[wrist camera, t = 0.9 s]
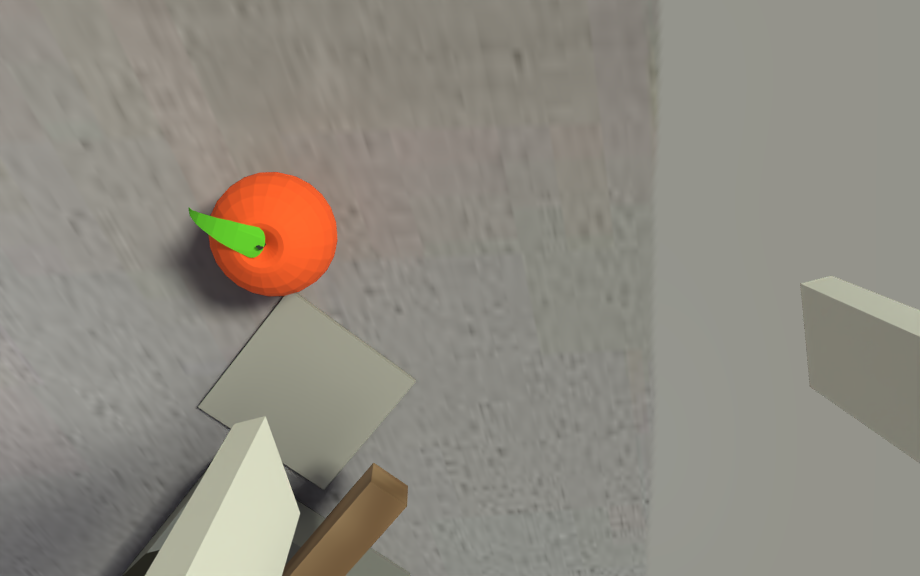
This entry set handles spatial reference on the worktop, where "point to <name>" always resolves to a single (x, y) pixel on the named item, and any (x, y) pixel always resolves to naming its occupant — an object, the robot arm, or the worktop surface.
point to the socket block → (369, 572)
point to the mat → (309, 388)
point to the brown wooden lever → (351, 526)
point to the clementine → (271, 233)
